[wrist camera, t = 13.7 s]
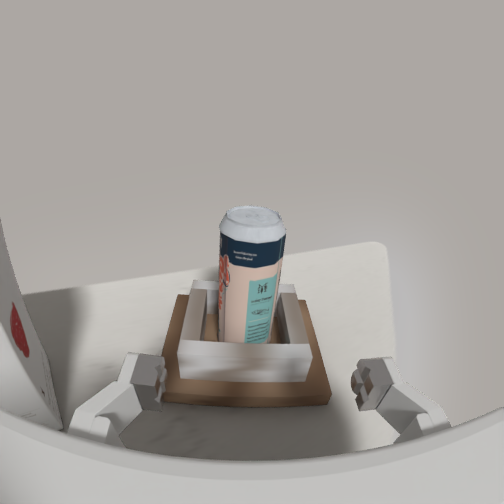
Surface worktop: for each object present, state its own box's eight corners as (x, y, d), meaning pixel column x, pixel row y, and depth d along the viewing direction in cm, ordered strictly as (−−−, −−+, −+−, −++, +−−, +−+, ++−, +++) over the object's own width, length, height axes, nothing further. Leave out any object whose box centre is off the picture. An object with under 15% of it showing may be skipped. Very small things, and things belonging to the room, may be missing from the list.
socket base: (156, 400, 21) (146, 365, 19) (178, 305, 33) (176, 270, 31) (327, 404, 22) (342, 370, 20) (302, 310, 34) (309, 277, 32)
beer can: (234, 317, 30) (241, 199, 24) (278, 334, 28) (297, 213, 22) (206, 345, 26) (205, 216, 20) (254, 367, 24) (270, 234, 18)
